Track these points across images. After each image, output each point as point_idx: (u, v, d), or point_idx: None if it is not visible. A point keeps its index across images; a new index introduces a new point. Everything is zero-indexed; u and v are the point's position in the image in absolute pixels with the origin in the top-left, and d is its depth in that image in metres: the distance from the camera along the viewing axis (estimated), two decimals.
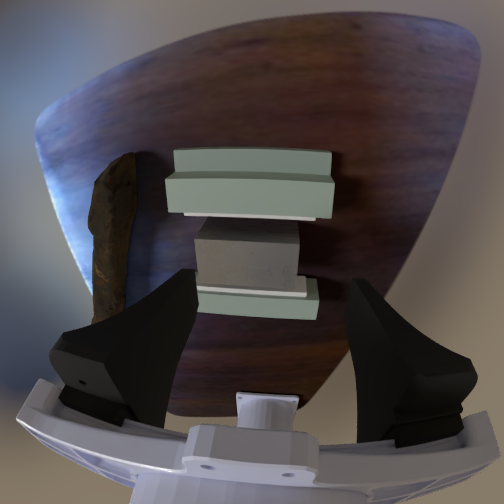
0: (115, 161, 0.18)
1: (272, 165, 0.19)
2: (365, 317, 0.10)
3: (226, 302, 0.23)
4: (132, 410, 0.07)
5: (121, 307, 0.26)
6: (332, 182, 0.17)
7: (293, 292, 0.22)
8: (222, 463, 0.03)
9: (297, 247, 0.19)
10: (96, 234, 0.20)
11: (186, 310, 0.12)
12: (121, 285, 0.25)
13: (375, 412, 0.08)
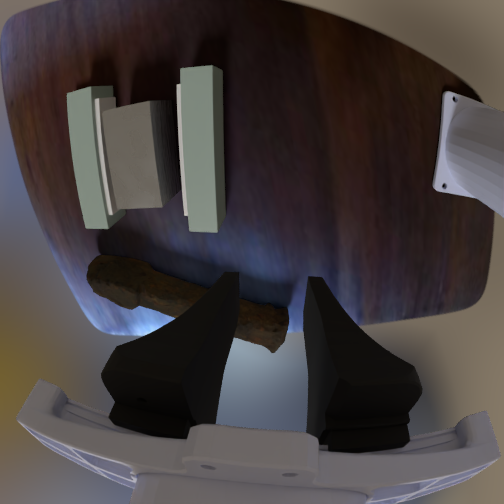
0: None
1: None
2: (314, 316, 0.10)
3: (195, 178, 0.18)
4: (196, 424, 0.07)
5: (245, 307, 0.24)
6: (68, 95, 0.15)
7: (178, 99, 0.16)
8: (222, 463, 0.03)
9: (105, 112, 0.15)
10: (132, 303, 0.22)
11: (232, 314, 0.12)
12: None
13: (315, 414, 0.08)
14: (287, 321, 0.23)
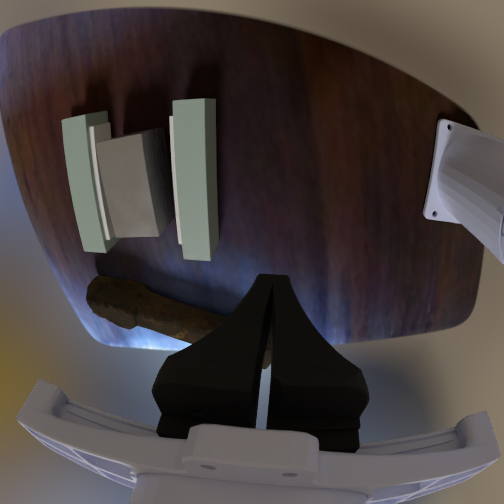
0: None
1: None
2: (273, 314, 0.10)
3: (188, 210, 0.19)
4: None
5: None
6: None
7: (170, 131, 0.17)
8: (222, 463, 0.03)
9: (98, 144, 0.16)
10: (130, 324, 0.23)
11: (269, 317, 0.12)
12: (204, 318, 0.25)
13: None
14: None
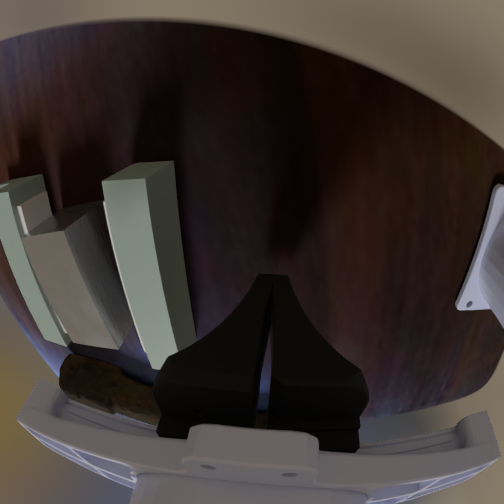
0: None
1: None
2: (273, 314, 0.10)
3: (148, 324, 0.13)
4: None
5: None
6: None
7: (108, 223, 0.11)
8: (222, 463, 0.03)
9: (23, 239, 0.11)
10: None
11: (269, 317, 0.12)
12: None
13: None
14: None
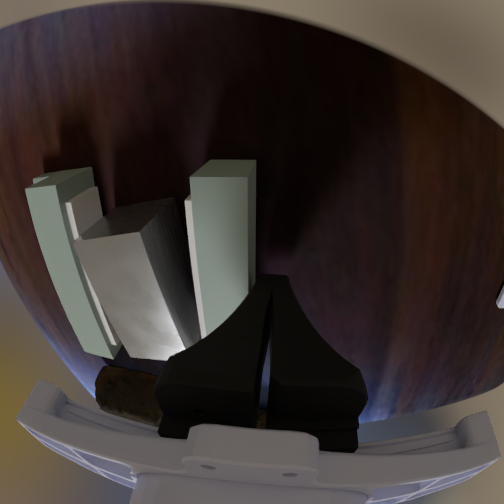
0: None
1: None
2: (272, 314, 0.10)
3: None
4: None
5: None
6: None
7: (188, 225, 0.11)
8: (222, 463, 0.03)
9: (77, 244, 0.11)
10: None
11: (270, 317, 0.12)
12: None
13: None
14: None
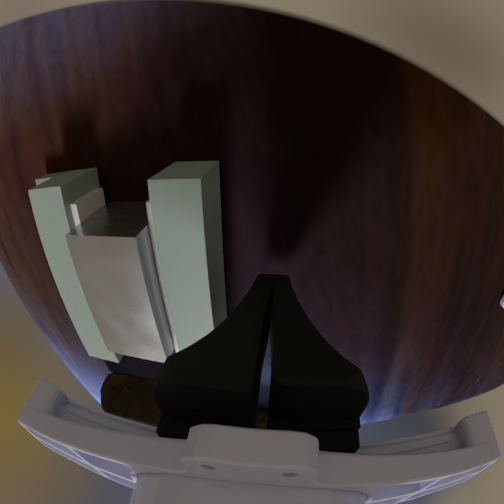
0: None
1: None
2: (273, 314, 0.10)
3: (188, 332, 0.13)
4: None
5: None
6: None
7: (150, 226, 0.11)
8: (222, 463, 0.03)
9: (69, 237, 0.10)
10: None
11: (269, 317, 0.12)
12: None
13: None
14: None
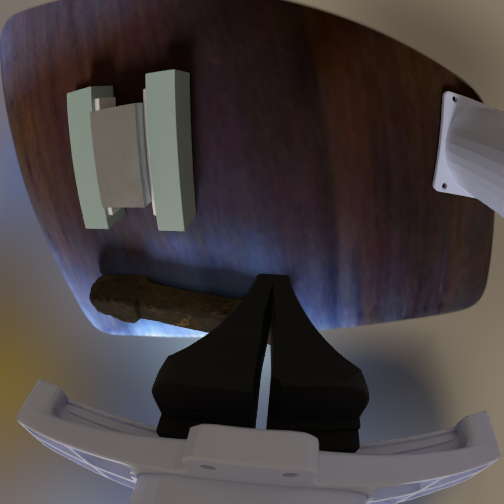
0: None
1: None
2: (273, 314, 0.10)
3: (161, 179, 0.18)
4: None
5: None
6: (68, 95, 0.15)
7: (144, 103, 0.16)
8: (222, 463, 0.03)
9: (92, 113, 0.15)
10: (133, 317, 0.23)
11: (269, 317, 0.12)
12: (206, 301, 0.24)
13: None
14: None
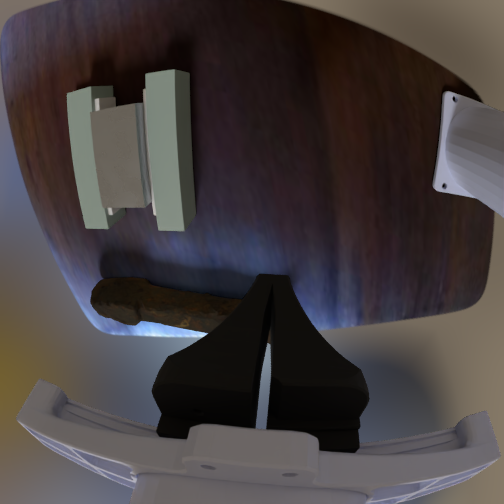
0: None
1: None
2: (273, 314, 0.10)
3: (161, 179, 0.18)
4: None
5: None
6: (68, 95, 0.15)
7: (144, 103, 0.16)
8: (222, 463, 0.03)
9: (92, 113, 0.15)
10: (134, 319, 0.23)
11: (269, 317, 0.12)
12: (206, 302, 0.24)
13: None
14: None
